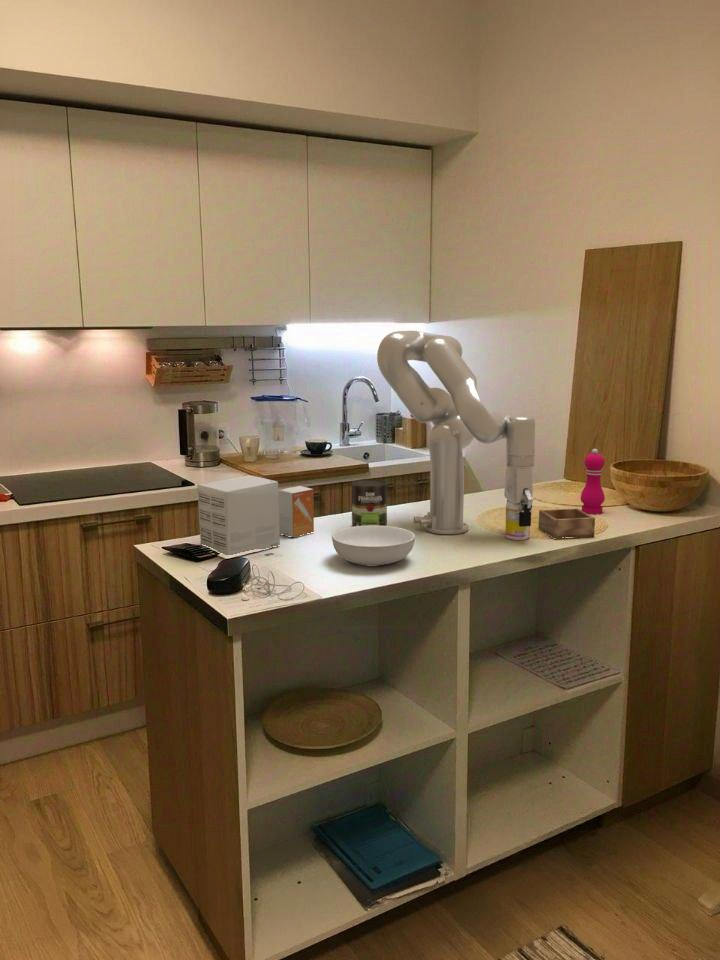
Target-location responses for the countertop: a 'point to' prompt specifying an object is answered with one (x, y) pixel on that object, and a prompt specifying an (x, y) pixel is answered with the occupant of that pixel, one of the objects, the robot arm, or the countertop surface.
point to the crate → (567, 523)
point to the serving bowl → (373, 544)
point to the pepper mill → (593, 484)
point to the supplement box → (239, 514)
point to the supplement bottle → (515, 523)
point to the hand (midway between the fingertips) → (518, 521)
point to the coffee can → (369, 502)
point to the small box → (296, 511)
